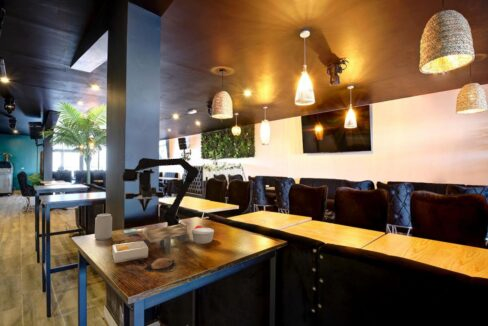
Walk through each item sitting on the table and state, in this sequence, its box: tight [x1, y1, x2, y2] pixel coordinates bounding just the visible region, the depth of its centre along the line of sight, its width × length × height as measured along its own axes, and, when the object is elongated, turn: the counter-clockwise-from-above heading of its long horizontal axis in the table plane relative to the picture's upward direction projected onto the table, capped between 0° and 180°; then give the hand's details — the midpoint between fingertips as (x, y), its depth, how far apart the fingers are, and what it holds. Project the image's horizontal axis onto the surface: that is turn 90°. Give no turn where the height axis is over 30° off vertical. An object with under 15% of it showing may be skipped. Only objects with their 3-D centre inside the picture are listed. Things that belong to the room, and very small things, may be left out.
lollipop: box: [192, 211, 210, 230], centre depth 136 cm, size 6×10×12 cm, turn 110°
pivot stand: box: [158, 236, 172, 255], centre depth 107 cm, size 2×11×7 cm, turn 33°
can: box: [94, 213, 113, 241], centre depth 122 cm, size 8×8×12 cm
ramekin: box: [191, 227, 215, 245], centre depth 121 cm, size 11×11×5 cm
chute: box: [123, 221, 191, 244], centre depth 111 cm, size 24×24×6 cm
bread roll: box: [143, 257, 179, 273], centre depth 89 cm, size 11×9×4 cm
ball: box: [118, 245, 129, 251], centre depth 98 cm, size 4×4×4 cm
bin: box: [112, 240, 149, 264], centre depth 99 cm, size 12×10×4 cm
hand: (144, 211), depth 126 cm, fingers closed
